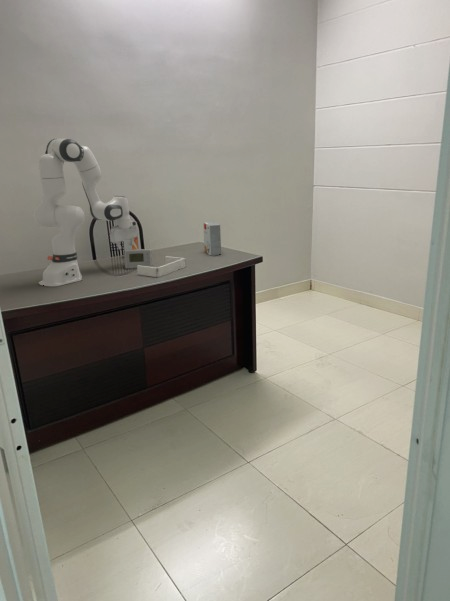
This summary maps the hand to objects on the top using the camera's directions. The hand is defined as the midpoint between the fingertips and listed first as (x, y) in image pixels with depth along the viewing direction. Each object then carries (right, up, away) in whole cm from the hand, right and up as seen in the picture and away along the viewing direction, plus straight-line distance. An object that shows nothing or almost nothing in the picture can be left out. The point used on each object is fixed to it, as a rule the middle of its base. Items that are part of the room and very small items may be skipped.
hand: (125, 247), depth 251 cm
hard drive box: (+51, 0, +32) cm, 60 cm away
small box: (-2, -3, +28) cm, 29 cm away
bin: (+23, -14, -10) cm, 29 cm away
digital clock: (+8, -12, -2) cm, 15 cm away
